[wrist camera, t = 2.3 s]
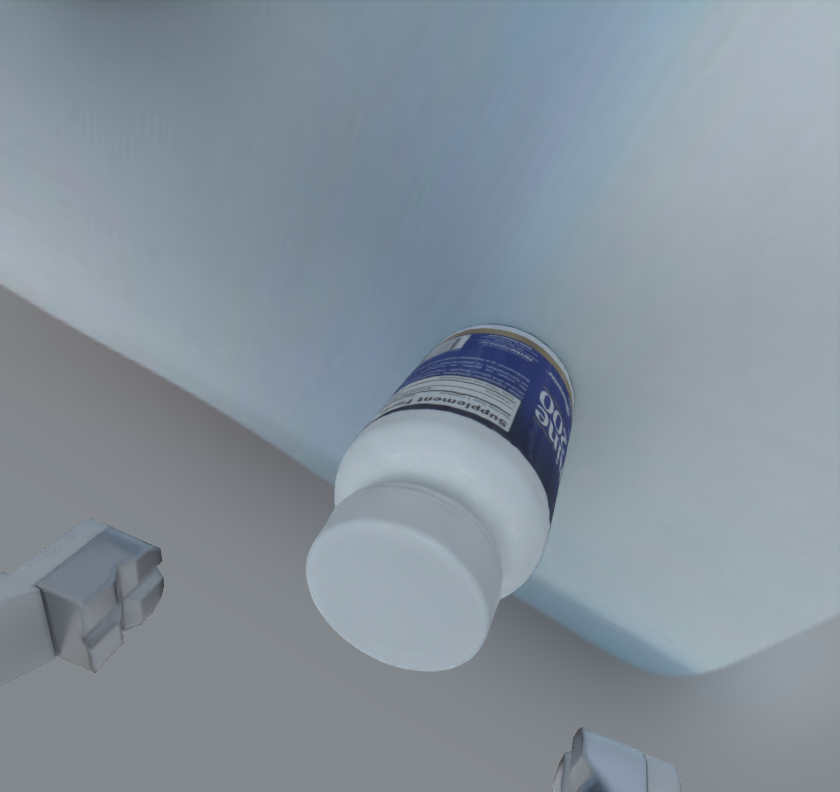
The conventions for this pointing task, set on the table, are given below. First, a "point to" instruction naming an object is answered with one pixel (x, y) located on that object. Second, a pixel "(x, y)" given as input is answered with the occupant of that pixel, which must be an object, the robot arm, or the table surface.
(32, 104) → the table surface
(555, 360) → the pill bottle
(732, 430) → the table surface
